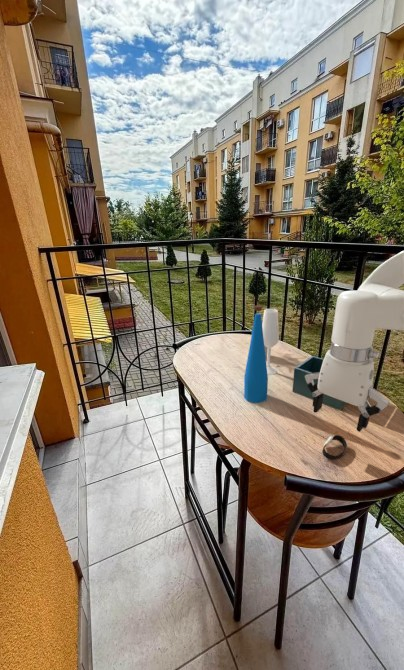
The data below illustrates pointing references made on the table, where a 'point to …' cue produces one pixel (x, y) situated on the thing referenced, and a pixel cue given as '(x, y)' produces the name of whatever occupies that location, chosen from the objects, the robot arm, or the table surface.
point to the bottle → (256, 365)
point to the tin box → (301, 386)
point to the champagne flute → (270, 334)
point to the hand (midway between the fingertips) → (337, 418)
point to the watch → (328, 444)
